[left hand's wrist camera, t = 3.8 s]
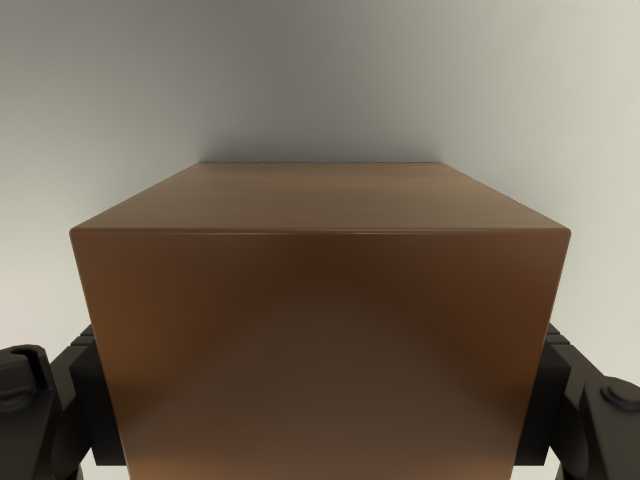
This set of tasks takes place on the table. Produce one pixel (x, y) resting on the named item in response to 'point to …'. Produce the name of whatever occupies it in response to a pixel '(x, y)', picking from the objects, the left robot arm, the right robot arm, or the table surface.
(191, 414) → the brown wooden bar
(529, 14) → the table surface
